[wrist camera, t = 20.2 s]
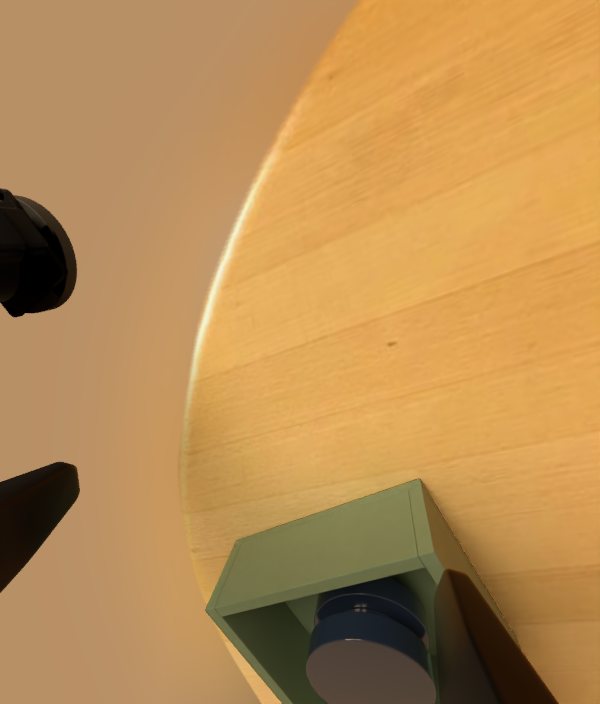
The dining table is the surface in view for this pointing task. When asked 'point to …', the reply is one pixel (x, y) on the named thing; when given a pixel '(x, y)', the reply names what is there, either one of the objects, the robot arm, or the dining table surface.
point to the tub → (331, 578)
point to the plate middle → (369, 661)
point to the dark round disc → (377, 603)
